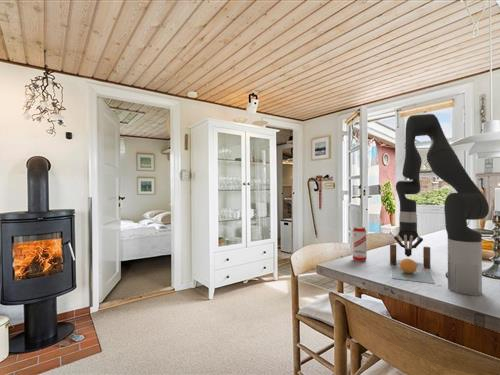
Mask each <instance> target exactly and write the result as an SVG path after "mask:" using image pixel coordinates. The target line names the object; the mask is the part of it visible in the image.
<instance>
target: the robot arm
mask: <svg viewBox="0 0 500 375" xmlns="http://www.w3.org/2000/svg"><path fill="white" fill-rule="evenodd" d="M404 134H405V136H404V137H405V139H404V140H405V141H404V143H405V144H404V145H405V146H404V147H405V148H404V162H403V167H402V168H403V169H402V176H403V178H406V179H408V180H406V179H399V180H398V181H397V182H396V183H395V191H396V194H397V196H398V201H399V216H398V217H399V218H398V221H399V226H398V227H399V228H398V230H399V231H398V233H397V234H396V235H394V236H393V239H394V240H395V241H396V242H397V243H398V245H399V246H400V247H401V248H403V249H404V255H405V256H406V257H411V256H412V255H413V253H412V252H413V251H412V250H413V249H416V248H418V246H419V245H420V244H421V243H422V242H423V241H424V239H423V237H421V236H420V235H419V234H418V214H417V201H416V200H415V199H412V198H408V197H406V195H418V194H419V193H420V191H421V189H422V188H421V182H420V172H421V167H422V164H423V163H422V157H421V154H420V153H419V150H418V149H417V147H416V143H415V142H416V141H415V140H416V137H423V136H425V137H426V136H428V137H429V139H430V141H431V142H430V145H429V148H428V150H427V153H426V160H427V161H426V162H427V164H428V165H429V167H430V169H431V171H432V173H433V174H434V175H435V176H436V177H438V178H439V179H441V180H442V181H443V182H445V183H446V184H448V186H451V187H452V188H453V189H454V190H455V191H456V192H451V193H449V194H448V195H447V196H446V197H445V200H444V207H443V208H444V222H445V230H446V235H447V288H448V289H449V291H452V292H455V294H462V295H469V296H477V297H480V296H481V295H483V253H482V252H483V241H482V240H483V236H482V235H483V234H482V232H480V231H478V230H474V229H472V228H470V227H469V226H468V225H467V220H468V221H470V220H471V221H472V220H473V221H476V220H483V219H486V217H488V215H489V212H490V207H489V206H490V205H489V203H488V201H487V198H486V197H485V195H484V194H483V192H482V191H481V190H480V189H479V187H478V185H476V184H475V182H474V181H473V180H472V178H471V177H470V176H469V173H468V172H467V170H466V169H465V168H464V166H463V164H462V163H461V160H460V159H459V157H458V155H457V153H456V152H455V150H454V149H453V148H452V146H451V144H450V142H449V141H448V139H447V137H446V135H445V133H444V130H443V128H442V126H441V124H440V121H439V119H438V117H437V116H436V115H435V114H434V113H422V114H421V113H420V114H412V115H410V116H409V117H408V118H407V120H406V123H405V133H404ZM400 239H401V240H402V241H403V242H404V244H403V242H402V241H401V240H400ZM415 240H416V242H414V241H415ZM413 242H414V244H413Z"/></svg>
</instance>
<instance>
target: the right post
mask: <svg viewBox="0 0 500 375" xmlns="http://www.w3.org/2000/svg"><path fill="white" fill-rule="evenodd" d="M422 249H423V250H422V251H423V253H422V254H423V255H422V257H423V260H422V261H423V264H422V265H423V268H424V269H427V270H428V269H429V270H430V269H431V247H430V246H423V248H422Z"/></svg>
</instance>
